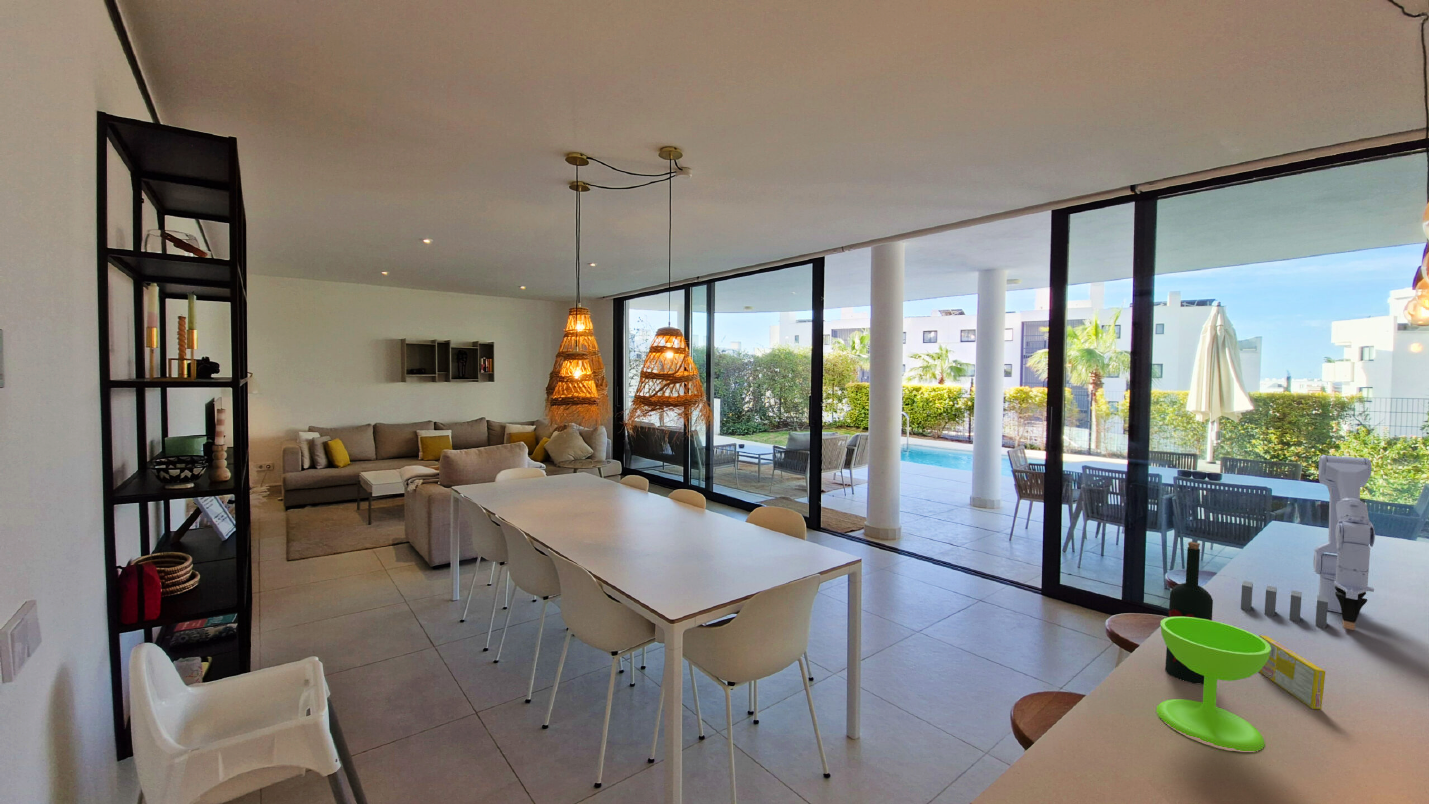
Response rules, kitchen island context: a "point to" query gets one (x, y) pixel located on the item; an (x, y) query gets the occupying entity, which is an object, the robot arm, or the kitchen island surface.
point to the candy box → (1294, 674)
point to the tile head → (1348, 625)
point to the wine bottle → (1188, 610)
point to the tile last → (1246, 595)
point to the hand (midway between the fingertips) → (1348, 618)
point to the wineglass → (1213, 678)
